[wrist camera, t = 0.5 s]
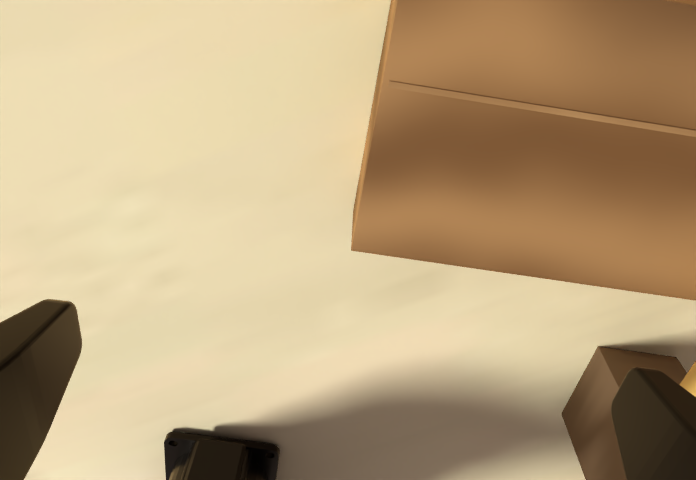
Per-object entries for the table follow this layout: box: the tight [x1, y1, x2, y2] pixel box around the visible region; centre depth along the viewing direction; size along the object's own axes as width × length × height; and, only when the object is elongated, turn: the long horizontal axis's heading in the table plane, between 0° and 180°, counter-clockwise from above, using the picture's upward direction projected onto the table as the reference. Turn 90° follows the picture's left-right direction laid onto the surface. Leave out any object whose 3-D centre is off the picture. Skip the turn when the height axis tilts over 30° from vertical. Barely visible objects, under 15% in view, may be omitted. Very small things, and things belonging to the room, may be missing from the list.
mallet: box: [562, 346, 696, 480], centre depth 23 cm, size 13×4×6 cm, turn 171°
